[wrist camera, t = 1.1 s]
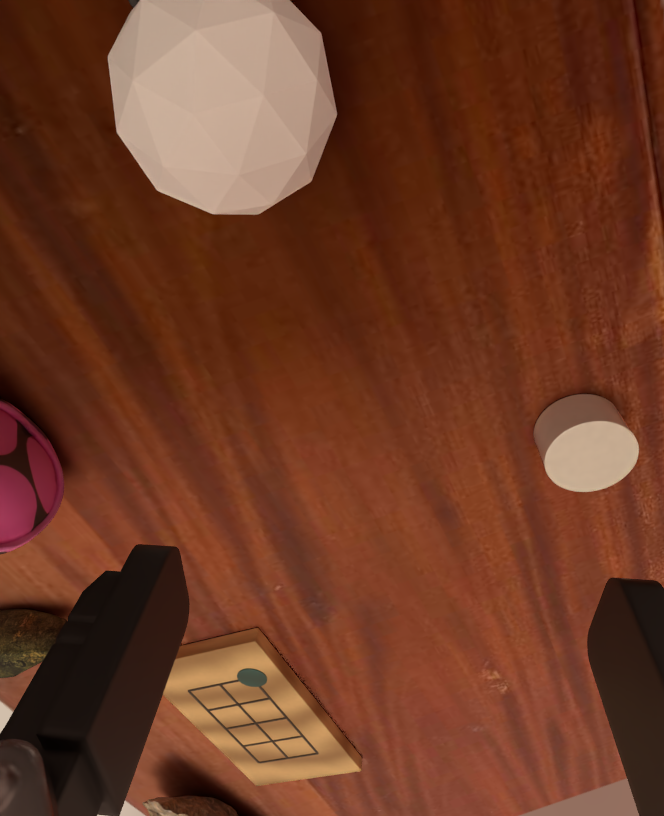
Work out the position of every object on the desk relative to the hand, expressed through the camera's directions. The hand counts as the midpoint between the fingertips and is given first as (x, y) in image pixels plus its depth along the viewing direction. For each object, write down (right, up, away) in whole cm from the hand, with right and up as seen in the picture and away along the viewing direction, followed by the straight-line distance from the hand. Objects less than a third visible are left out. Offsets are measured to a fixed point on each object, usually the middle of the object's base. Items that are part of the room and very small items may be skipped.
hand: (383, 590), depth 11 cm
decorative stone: (-27, -15, +30) cm, 43 cm away
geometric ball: (-4, +17, +13) cm, 22 cm away
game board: (-7, -23, +38) cm, 45 cm away
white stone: (+13, +2, +20) cm, 24 cm away
